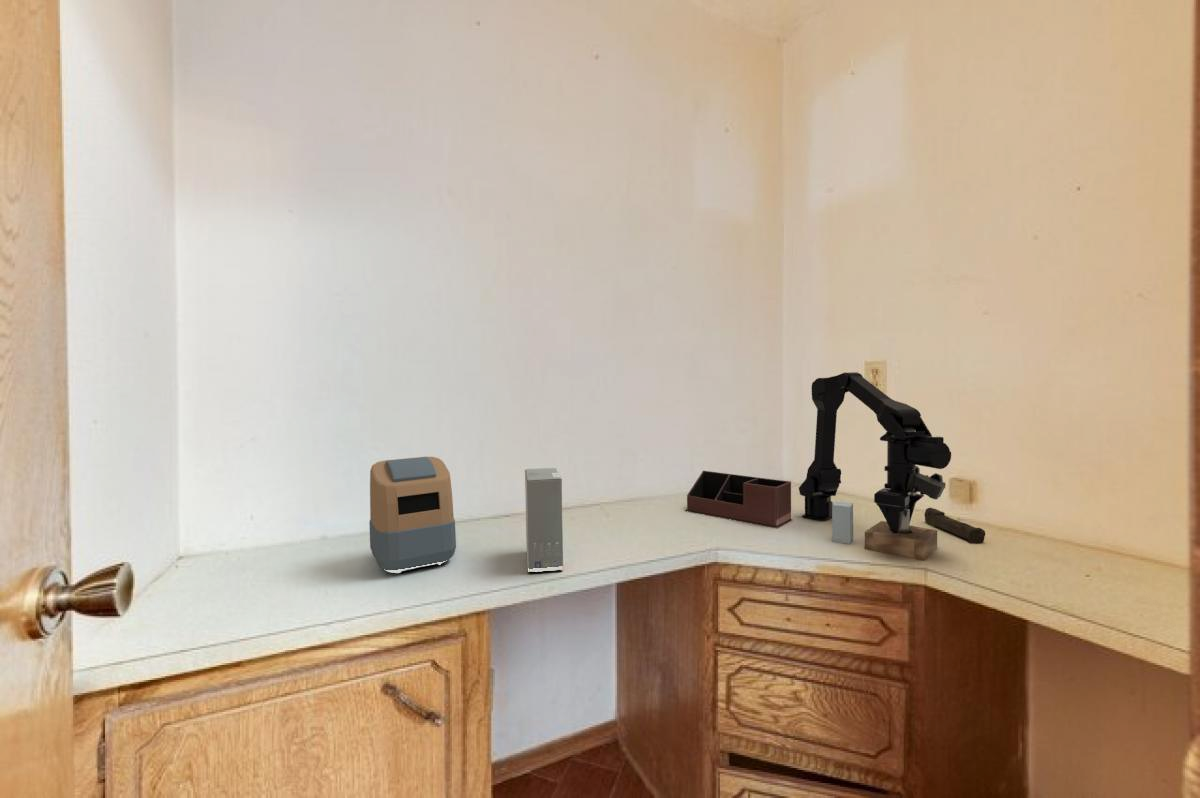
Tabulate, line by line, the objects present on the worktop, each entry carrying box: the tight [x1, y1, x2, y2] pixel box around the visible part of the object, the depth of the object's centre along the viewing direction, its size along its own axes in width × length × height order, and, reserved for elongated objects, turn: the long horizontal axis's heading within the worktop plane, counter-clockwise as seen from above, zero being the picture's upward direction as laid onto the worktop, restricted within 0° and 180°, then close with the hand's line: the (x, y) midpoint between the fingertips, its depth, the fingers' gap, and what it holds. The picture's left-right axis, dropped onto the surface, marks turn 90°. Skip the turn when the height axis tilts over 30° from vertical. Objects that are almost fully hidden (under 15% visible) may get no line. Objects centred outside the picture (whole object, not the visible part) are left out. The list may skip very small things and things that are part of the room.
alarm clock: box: [369, 456, 457, 570], centre depth 119 cm, size 17×17×23 cm
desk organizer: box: [684, 470, 794, 530], centre depth 154 cm, size 10×29×11 cm, turn 47°
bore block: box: [864, 520, 938, 561], centre depth 123 cm, size 12×12×4 cm
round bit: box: [898, 508, 911, 534], centre depth 123 cm, size 3×3×9 cm
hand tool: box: [924, 507, 986, 544], centre depth 134 cm, size 19×4×5 cm, turn 0°
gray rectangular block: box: [831, 501, 854, 545], centre depth 129 cm, size 4×4×9 cm
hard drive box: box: [524, 467, 564, 569], centre depth 118 cm, size 16×8×20 cm, turn 9°
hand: (900, 528), depth 123 cm, fingers open, 9 cm apart
